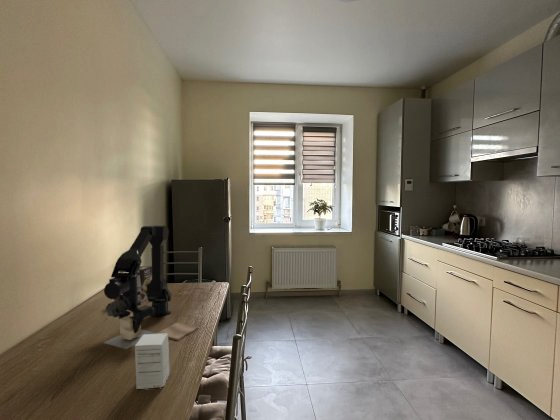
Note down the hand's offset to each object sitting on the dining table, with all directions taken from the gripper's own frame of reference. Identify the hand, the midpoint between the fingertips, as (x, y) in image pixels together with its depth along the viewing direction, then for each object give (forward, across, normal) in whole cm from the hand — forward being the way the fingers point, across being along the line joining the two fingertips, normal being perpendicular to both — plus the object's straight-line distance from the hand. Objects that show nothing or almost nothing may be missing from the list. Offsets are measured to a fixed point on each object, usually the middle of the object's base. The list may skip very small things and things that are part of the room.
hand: (130, 331), depth 120 cm
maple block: (+2, 0, 0) cm, 2 cm away
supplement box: (+3, +30, -17) cm, 35 cm away
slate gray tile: (+3, 0, 0) cm, 3 cm away
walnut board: (+2, +12, +11) cm, 17 cm away
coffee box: (+3, -33, +34) cm, 47 cm away
